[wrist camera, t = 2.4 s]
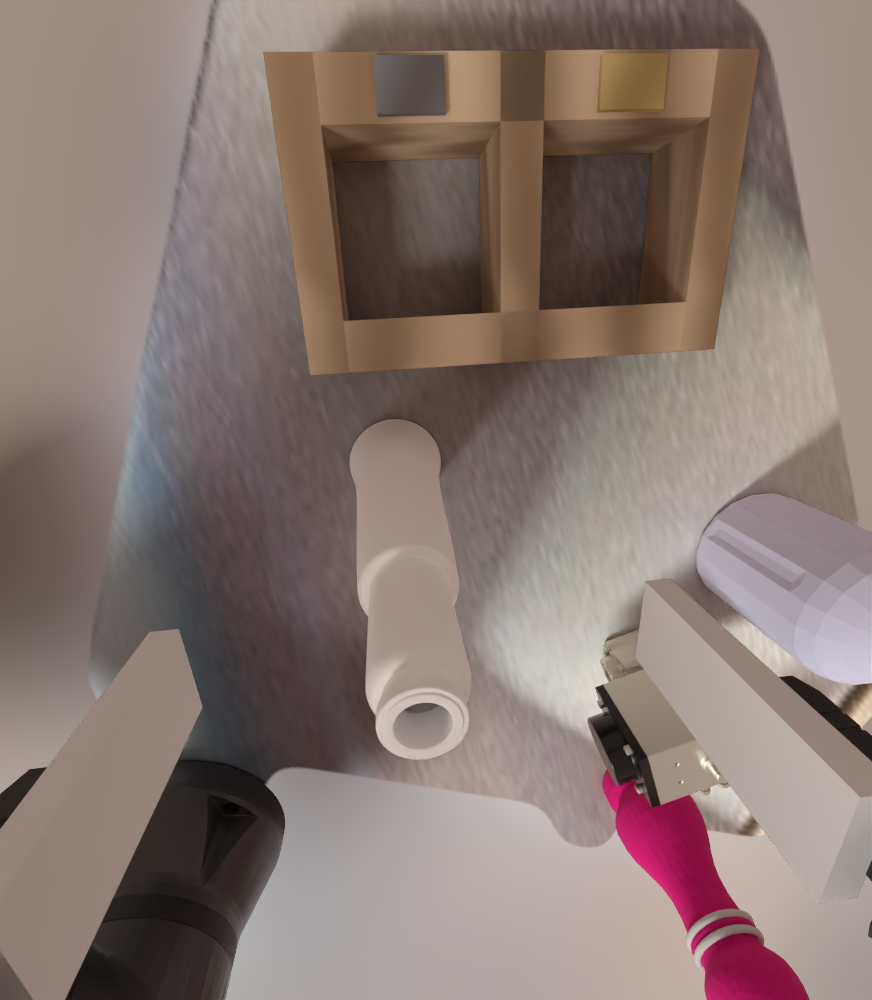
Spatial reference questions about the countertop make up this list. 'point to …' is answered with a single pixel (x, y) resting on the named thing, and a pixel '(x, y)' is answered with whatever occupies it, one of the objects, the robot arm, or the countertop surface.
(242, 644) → the countertop surface
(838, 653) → the soap bottle
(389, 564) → the cosmetic bottle
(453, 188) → the countertop surface
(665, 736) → the pneumatic valve
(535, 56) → the wooden compartment tray
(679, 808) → the pepper mill
